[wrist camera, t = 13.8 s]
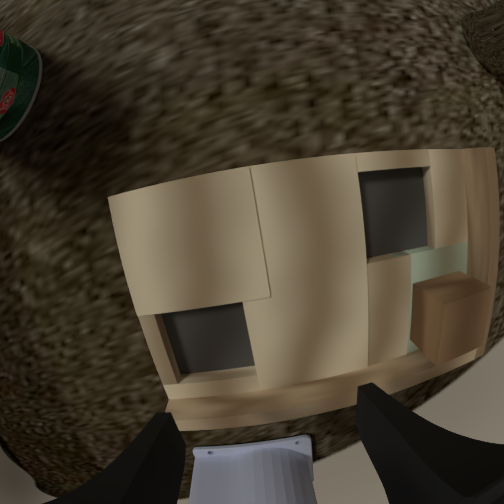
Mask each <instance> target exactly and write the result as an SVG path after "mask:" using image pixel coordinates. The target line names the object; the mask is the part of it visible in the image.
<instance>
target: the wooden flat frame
mask: <svg viewBox="0 0 504 504" xmlns="http://www.w3.org/2000/svg"><path fill="white" fill-rule="evenodd" d="M108 201H109V206H110V212H111V217H112V221H113V226H114V231H115V235H116V240H117V244H118V248H119V252H120V256H121V260H122V264H123V268H124V272H125V276H126V279H127V283H128V286H129V290H130V293H131V297H132V300H133V303H134V307H135V310H136V313H137V316H138V317H139V320H140V323H141V326H142V329H143V332H144V335H145V338H146V341H147V344H148V347H149V349H150V352H151V355H152V358H153V360H154V363H155V365H156V368H157V371H158V373H159V376H160V378H161V381H162V383H163V386H164V388H165V391H166V393H167V395H168V398H169V401H168V405H167V408H166V411H165V412H171V413H172V416H173V418H174V420H175V422H176V425H177V427H178V429H179V431H189V430H209V429H222V428H233V427H243V426H251V425H259V424H266V423H273V422H279V421H285V420H290V419H296V418H301V417H306V416H311V415H316V414H320V413H325V412H329V411H333V410H337V409H341V408H345V407H349V406H352V405H356V404H357V390H358V386H360V385H364V384H368V383H371V382H373V383H374V384H376V385H377V386H378V387H379V388H381V389H382V390H383V391H385V392H386V393H387V394H392V393H395V392H398V391H400V390H403V389H406V388H409V387H411V386H414V385H417V384H419V383H422V382H424V381H427V380H429V379H432V378H434V377H437V376H439V375H441V374H444V373H446V372H448V371H451V370H453V369H455V368H457V367H459V366H461V365H464V364H466V363H468V362H470V361H472V360H474V359H476V358H478V357H480V356H482V355H483V354H484V350H485V346H486V341H487V337H488V332H489V327H490V322H491V316H492V310H493V304H494V297H495V289H496V280H497V270H498V256H499V191H498V177H497V167H496V158H495V151H494V148H488V147H482V148H469V149H422V150H397V151H380V152H365V153H352V154H341V155H331V156H321V157H313V158H304V159H296V160H289V161H281V162H274V163H268V164H261V165H255V166H248V167H242V168H236V169H230V170H225V171H219V172H214V173H209V174H204V175H199V176H194V177H189V178H184V179H179V180H175V181H170V182H166V183H162V184H157V185H153V186H149V187H145V188H141V189H137V190H133V191H129V192H125V193H121V194H117V195H114V196H110V197H108ZM456 271H461V272H463V273H465V274H467V275H469V276H471V277H473V278H475V279H477V280H479V281H481V282H483V283H485V284H487V285H489V286H491V287H492V294H491V301H490V308H489V314H488V320H487V326H486V331H485V336H484V341H483V345H482V346H480V347H478V348H476V349H474V350H472V351H470V352H468V353H466V354H464V355H461V356H459V357H457V358H455V359H453V360H450V361H448V362H446V363H443V364H441V365H438V366H435V365H434V364H433V363H432V362H431V361H430V360H429V359H428V358H427V357H426V356H425V355H424V353H423V352H422V351H421V350H420V349H419V348H418V347H417V346H416V345H415V344H414V343H413V342H412V341H411V340H410V329H411V313H412V288H413V283H416V282H420V281H424V280H428V279H431V278H435V277H439V276H442V275H446V274H449V273H453V272H456Z"/></svg>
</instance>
